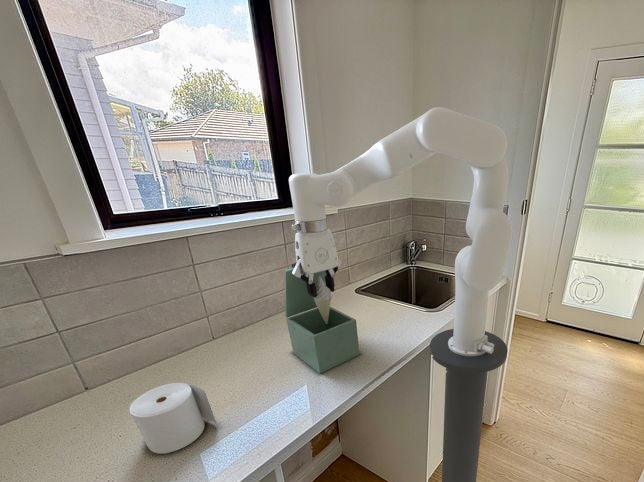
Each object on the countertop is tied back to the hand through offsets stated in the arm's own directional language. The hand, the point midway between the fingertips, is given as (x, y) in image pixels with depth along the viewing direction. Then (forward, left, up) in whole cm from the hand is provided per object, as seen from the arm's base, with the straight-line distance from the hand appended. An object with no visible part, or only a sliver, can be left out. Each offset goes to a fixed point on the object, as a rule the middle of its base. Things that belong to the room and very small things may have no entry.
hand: (321, 292), depth 93 cm
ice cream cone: (0, 0, -10) cm, 10 cm away
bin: (+1, +1, -20) cm, 20 cm away
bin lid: (+6, +1, 0) cm, 6 cm away
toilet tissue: (-4, +41, -20) cm, 46 cm away
